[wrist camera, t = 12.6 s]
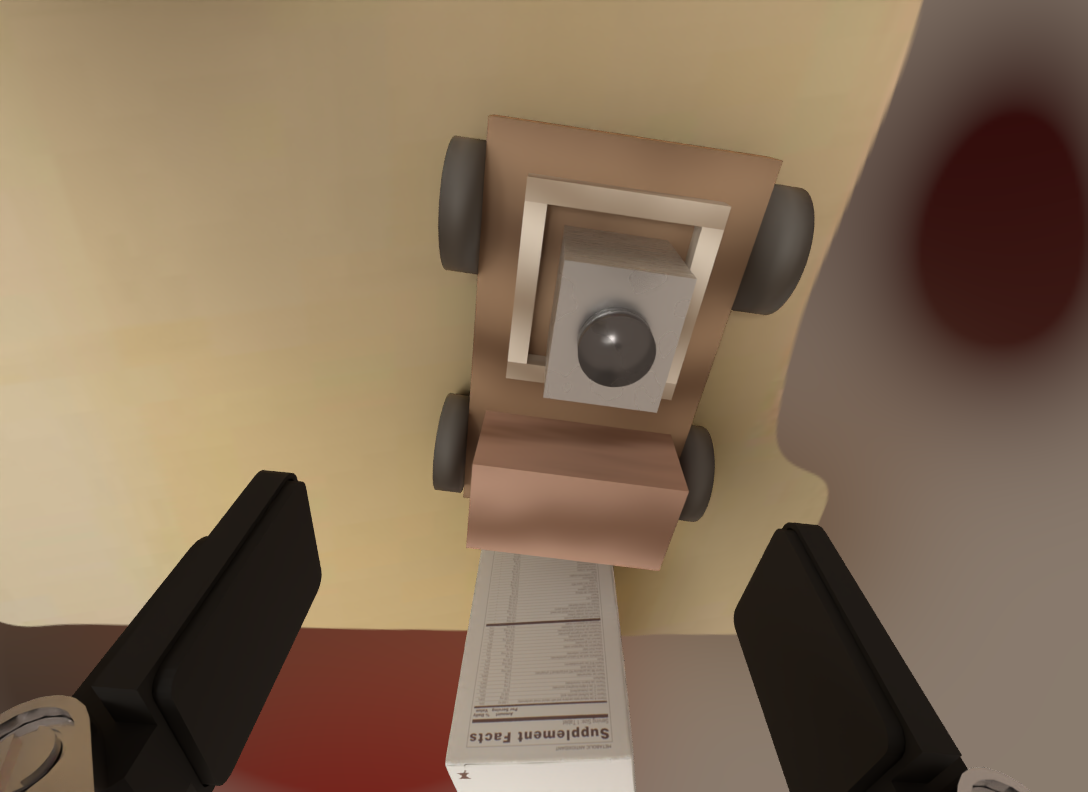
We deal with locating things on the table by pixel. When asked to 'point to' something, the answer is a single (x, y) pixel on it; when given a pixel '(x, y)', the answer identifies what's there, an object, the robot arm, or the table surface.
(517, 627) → the supplement box
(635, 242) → the block with dome knob
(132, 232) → the table surface
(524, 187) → the chassis
